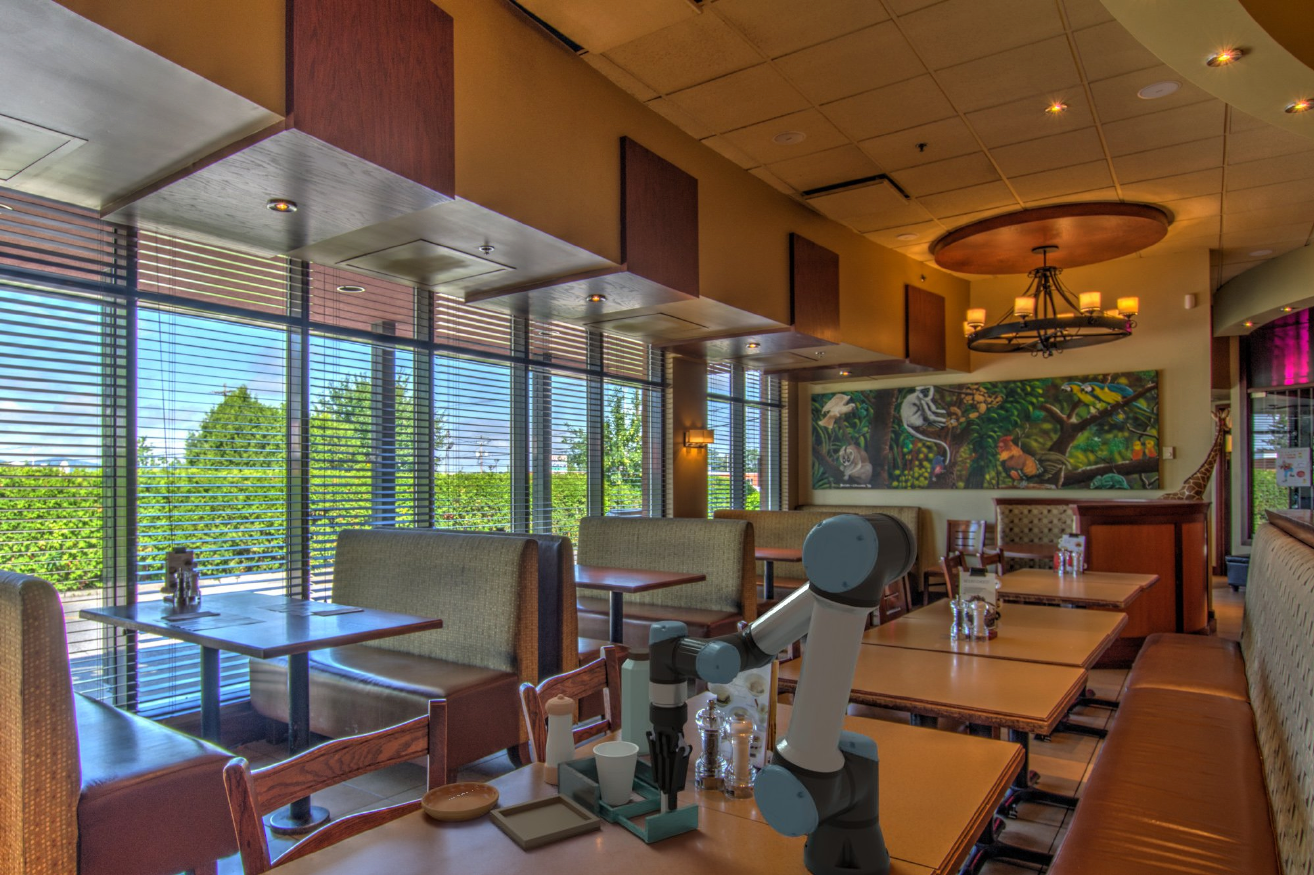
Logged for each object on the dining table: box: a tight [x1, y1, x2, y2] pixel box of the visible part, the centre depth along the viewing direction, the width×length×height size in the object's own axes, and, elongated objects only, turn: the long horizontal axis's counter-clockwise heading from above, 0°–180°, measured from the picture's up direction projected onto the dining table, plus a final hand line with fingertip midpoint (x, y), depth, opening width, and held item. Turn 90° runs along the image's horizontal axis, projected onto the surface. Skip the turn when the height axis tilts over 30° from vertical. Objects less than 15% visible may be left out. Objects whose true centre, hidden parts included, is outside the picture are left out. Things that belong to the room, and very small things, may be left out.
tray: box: [489, 793, 602, 851], centre depth 163 cm, size 16×16×2 cm
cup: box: [592, 740, 639, 807], centre depth 175 cm, size 10×10×11 cm
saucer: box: [420, 781, 500, 822], centre depth 171 cm, size 16×16×3 cm
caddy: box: [598, 777, 699, 844], centre depth 168 cm, size 26×14×5 cm, turn 34°
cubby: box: [556, 754, 660, 819], centre depth 177 cm, size 16×17×6 cm
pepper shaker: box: [543, 693, 577, 786], centre depth 188 cm, size 7×7×19 cm
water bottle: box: [620, 647, 654, 756], centre depth 208 cm, size 10×10×25 cm
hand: (668, 824), depth 159 cm, fingers closed
